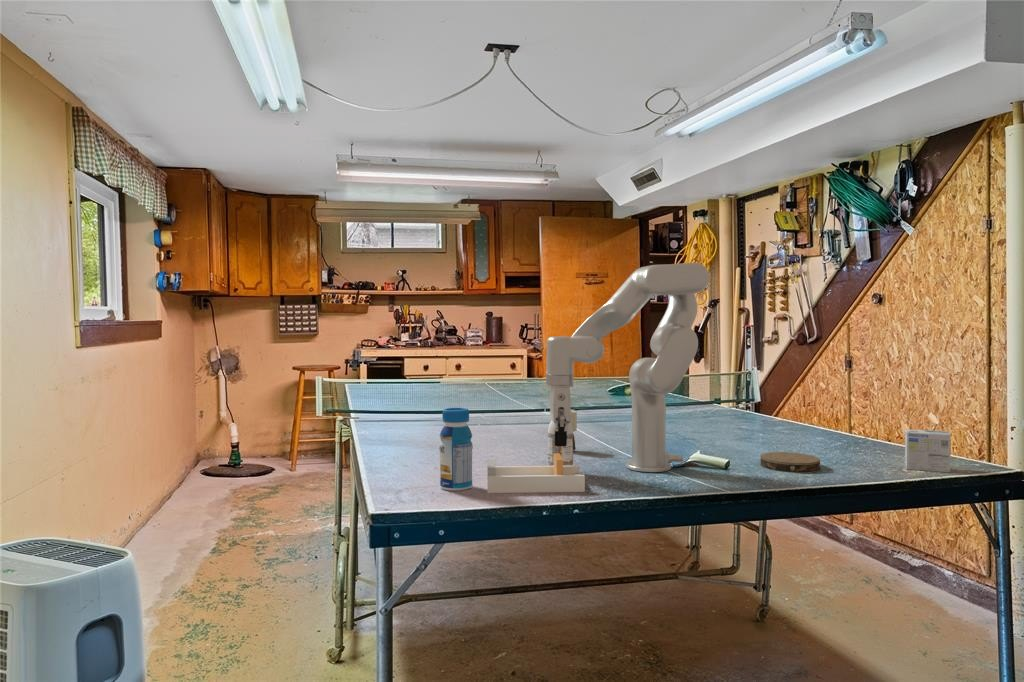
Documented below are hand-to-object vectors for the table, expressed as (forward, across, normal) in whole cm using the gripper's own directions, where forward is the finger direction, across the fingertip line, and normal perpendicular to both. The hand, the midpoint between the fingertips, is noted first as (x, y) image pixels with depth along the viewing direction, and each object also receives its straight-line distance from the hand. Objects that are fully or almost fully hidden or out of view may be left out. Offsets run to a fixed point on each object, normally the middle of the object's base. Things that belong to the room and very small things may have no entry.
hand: (558, 442), depth 183 cm
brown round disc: (+8, +6, -68) cm, 68 cm away
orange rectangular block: (+7, -14, +1) cm, 16 cm away
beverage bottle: (+9, -14, +27) cm, 32 cm away
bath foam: (+9, 0, -1) cm, 9 cm away
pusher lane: (+9, -14, +7) cm, 18 cm away
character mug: (+9, +32, -6) cm, 34 cm away
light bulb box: (+7, +1, -105) cm, 105 cm away
